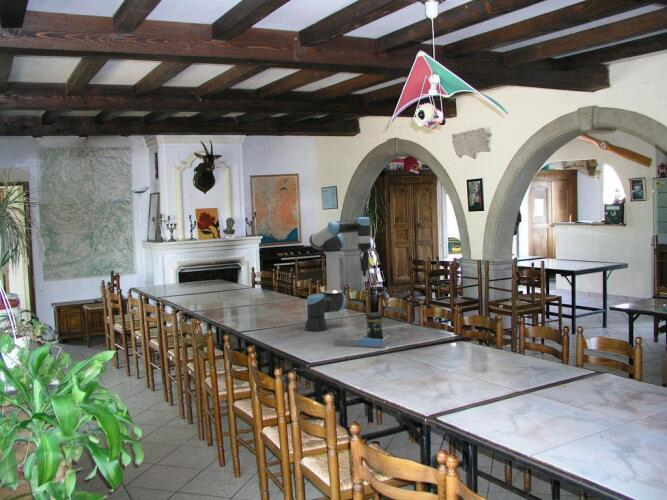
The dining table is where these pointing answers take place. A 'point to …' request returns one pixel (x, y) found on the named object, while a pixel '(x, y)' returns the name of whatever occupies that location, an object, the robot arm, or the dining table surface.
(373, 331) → the coffee jar
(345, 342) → the divided storage rack
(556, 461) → the dining table surface
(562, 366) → the dining table surface
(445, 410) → the dining table surface
